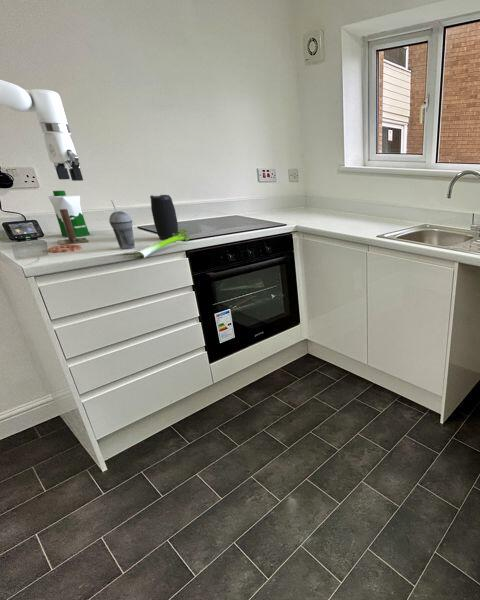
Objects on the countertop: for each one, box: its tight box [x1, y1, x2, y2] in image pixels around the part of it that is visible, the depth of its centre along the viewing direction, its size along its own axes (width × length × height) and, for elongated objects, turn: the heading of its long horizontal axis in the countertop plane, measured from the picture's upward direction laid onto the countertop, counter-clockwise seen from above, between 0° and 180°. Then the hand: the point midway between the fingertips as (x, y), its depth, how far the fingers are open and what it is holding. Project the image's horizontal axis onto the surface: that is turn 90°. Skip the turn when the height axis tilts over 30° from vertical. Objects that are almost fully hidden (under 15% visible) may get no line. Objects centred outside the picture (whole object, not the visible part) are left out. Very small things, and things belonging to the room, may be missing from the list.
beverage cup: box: [108, 199, 136, 251], centre depth 138 cm, size 7×7×20 cm
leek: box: [133, 229, 191, 259], centre depth 146 cm, size 6×7×30 cm
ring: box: [46, 244, 83, 254], centre depth 136 cm, size 10×10×2 cm
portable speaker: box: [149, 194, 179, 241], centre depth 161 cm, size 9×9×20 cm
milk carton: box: [47, 190, 91, 238], centre depth 160 cm, size 9×9×20 cm
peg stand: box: [57, 209, 89, 246], centre depth 146 cm, size 9×9×14 cm
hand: (71, 179), depth 131 cm, fingers open, 9 cm apart
